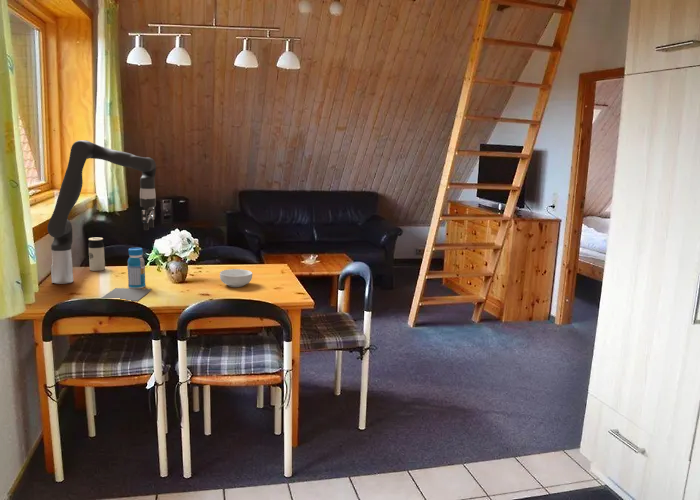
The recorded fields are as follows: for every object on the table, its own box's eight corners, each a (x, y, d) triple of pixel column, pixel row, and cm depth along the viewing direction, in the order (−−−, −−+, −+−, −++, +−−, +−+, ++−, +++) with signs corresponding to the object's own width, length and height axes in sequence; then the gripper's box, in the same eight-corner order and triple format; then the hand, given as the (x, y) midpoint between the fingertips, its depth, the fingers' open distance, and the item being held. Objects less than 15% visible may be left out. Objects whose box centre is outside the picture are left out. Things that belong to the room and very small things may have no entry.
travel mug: (102, 267, 337) (100, 236, 334) (107, 270, 332) (105, 238, 328) (87, 269, 332) (86, 238, 329) (92, 271, 326) (91, 240, 323)
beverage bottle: (130, 289, 292) (129, 250, 288) (126, 286, 299) (124, 247, 295) (147, 287, 297) (146, 249, 293) (142, 284, 304) (141, 246, 300)
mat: (98, 300, 272) (98, 299, 272) (115, 289, 293) (115, 288, 293) (137, 301, 273) (137, 300, 273) (151, 290, 293) (151, 289, 293)
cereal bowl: (232, 291, 296) (232, 277, 295) (213, 285, 307) (213, 271, 306) (258, 285, 309) (258, 272, 307) (239, 280, 320) (239, 267, 318)
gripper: (144, 195, 302) (145, 226, 305) (135, 198, 288) (136, 230, 291) (159, 196, 303) (160, 227, 306) (150, 199, 289) (151, 231, 292)
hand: (148, 228), depth 299 cm, fingers open, 8 cm apart
